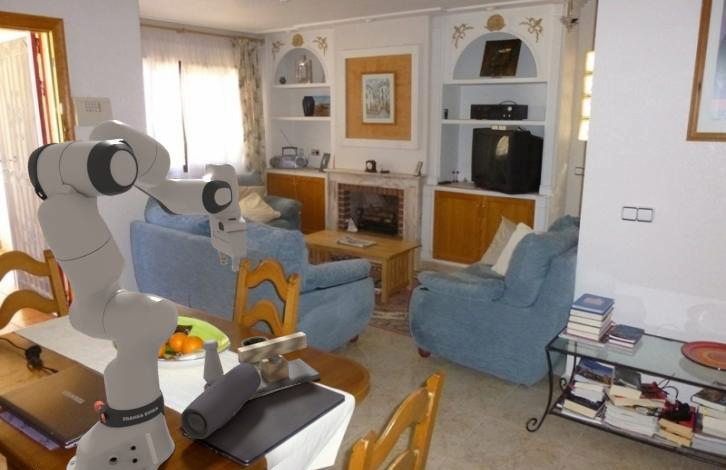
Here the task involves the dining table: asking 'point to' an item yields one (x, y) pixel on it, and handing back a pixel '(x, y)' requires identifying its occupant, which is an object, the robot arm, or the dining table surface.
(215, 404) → the bluetooth speaker
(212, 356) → the salt shaker
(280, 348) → the birch batten
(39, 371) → the dining table surface
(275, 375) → the ridge stand
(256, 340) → the vessel
